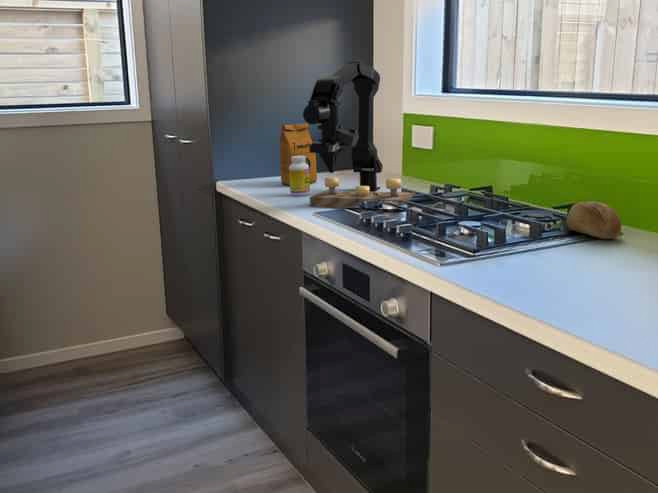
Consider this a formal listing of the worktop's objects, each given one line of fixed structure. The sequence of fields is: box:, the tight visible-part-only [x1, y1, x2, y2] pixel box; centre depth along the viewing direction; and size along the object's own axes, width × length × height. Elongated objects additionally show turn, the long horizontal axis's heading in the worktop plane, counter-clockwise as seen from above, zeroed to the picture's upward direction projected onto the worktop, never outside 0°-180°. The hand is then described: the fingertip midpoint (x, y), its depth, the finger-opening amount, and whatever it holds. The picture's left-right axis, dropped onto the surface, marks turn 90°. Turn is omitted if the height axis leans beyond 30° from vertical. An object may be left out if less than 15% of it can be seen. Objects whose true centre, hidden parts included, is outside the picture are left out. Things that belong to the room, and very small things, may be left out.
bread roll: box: [566, 200, 622, 240], centre depth 163 cm, size 10×15×8 cm, turn 19°
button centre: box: [354, 185, 370, 196], centre depth 210 cm, size 4×4×5 cm
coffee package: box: [278, 122, 318, 186], centre depth 251 cm, size 10×12×22 cm
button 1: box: [324, 176, 340, 195], centre depth 214 cm, size 4×4×5 cm
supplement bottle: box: [289, 156, 311, 197], centre depth 231 cm, size 7×7×13 cm
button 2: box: [385, 178, 402, 197], centre depth 206 cm, size 4×4×5 cm
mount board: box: [309, 189, 417, 209], centre depth 211 cm, size 30×12×3 cm, turn 67°
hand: (331, 172), depth 213 cm, fingers closed
